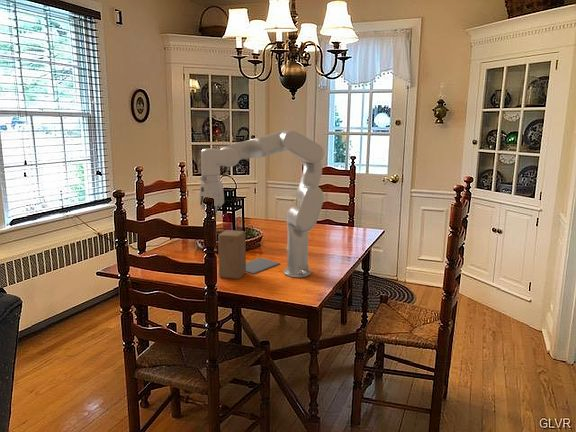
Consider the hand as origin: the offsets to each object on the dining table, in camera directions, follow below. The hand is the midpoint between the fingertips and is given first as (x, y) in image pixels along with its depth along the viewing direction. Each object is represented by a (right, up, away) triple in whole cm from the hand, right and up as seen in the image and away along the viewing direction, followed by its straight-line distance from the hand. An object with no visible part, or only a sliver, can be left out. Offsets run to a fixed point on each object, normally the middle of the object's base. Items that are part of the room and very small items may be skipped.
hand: (212, 221), depth 192 cm
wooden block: (+7, -25, +15) cm, 30 cm away
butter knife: (+31, -16, +55) cm, 65 cm away
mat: (+17, -22, +28) cm, 39 cm away
